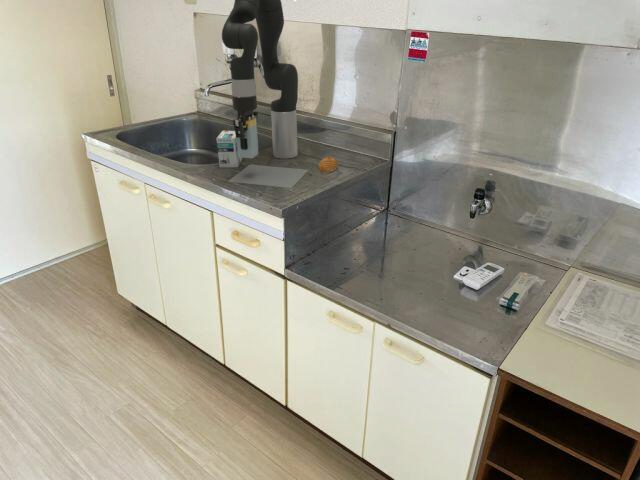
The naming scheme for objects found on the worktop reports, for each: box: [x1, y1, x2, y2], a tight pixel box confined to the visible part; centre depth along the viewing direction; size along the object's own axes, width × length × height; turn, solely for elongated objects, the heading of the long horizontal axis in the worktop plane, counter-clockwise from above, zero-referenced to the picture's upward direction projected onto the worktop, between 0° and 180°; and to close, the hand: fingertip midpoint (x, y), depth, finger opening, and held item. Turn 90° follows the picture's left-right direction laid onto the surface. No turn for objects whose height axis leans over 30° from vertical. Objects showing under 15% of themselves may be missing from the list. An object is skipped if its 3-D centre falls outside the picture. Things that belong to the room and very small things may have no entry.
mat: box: [227, 164, 309, 189], centre depth 162 cm, size 18×22×1 cm
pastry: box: [318, 156, 339, 174], centre depth 167 cm, size 9×7×4 cm
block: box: [237, 118, 259, 159], centre depth 155 cm, size 5×5×12 cm
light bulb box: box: [216, 130, 243, 168], centre depth 173 cm, size 11×7×11 cm, turn 179°
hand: (247, 146), depth 157 cm, fingers closed on block, 5 cm apart
